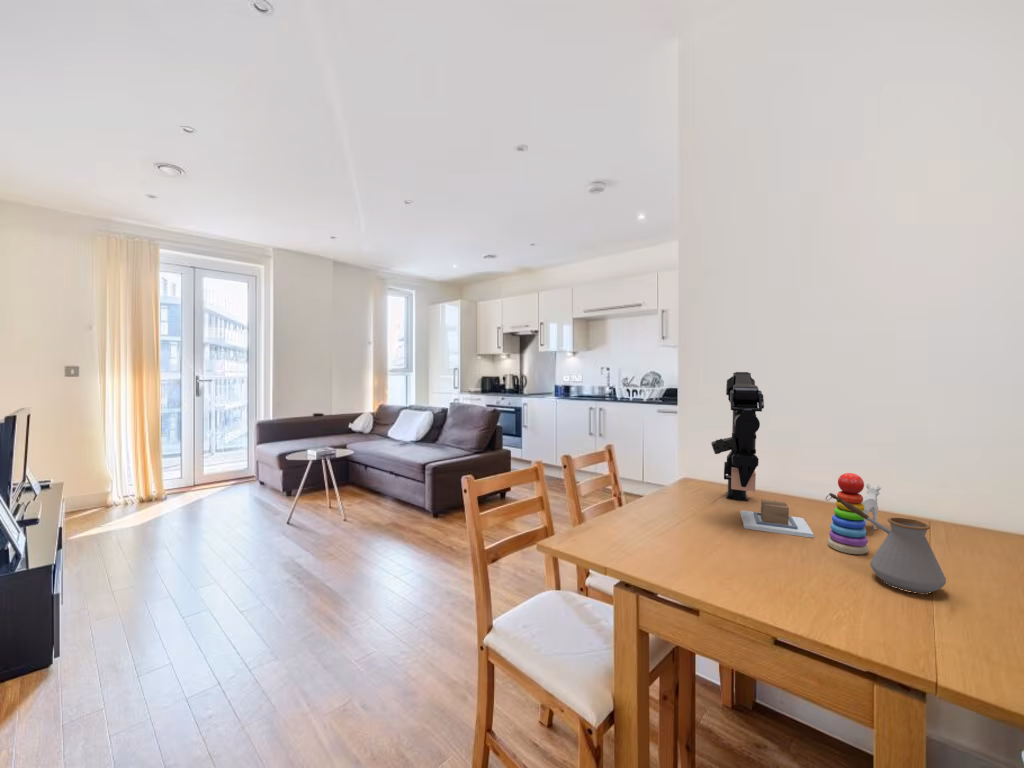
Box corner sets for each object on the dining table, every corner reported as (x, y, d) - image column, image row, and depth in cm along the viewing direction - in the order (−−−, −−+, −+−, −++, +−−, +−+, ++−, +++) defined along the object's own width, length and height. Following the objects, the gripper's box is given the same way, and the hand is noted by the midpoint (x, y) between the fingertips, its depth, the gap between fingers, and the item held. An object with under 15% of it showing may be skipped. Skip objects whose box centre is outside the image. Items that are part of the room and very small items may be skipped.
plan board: (740, 513, 134) (740, 508, 133) (802, 521, 127) (803, 515, 127) (744, 528, 121) (744, 522, 121) (813, 537, 114) (813, 531, 114)
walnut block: (760, 516, 128) (761, 499, 128) (784, 519, 125) (785, 502, 125) (763, 522, 122) (763, 505, 122) (788, 526, 120) (788, 508, 120)
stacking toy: (820, 545, 109) (822, 470, 109) (839, 540, 112) (841, 468, 112) (856, 558, 102) (859, 478, 101) (875, 552, 105) (878, 474, 105)
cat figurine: (884, 526, 124) (886, 476, 123) (855, 541, 113) (857, 486, 112) (864, 521, 127) (866, 473, 127) (835, 535, 116) (837, 482, 116)
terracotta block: (731, 484, 130) (731, 467, 130) (754, 486, 127) (754, 469, 127) (731, 489, 125) (731, 471, 124) (755, 491, 122) (755, 473, 122)
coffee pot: (958, 593, 86) (961, 517, 86) (926, 604, 82) (929, 524, 81) (840, 551, 106) (842, 489, 105) (809, 559, 101) (811, 494, 101)
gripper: (714, 424, 137) (712, 474, 138) (712, 432, 120) (711, 488, 121) (754, 427, 132) (753, 478, 133) (759, 435, 116) (757, 493, 116)
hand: (743, 484), depth 126 cm, fingers closed on terracotta block, 6 cm apart
